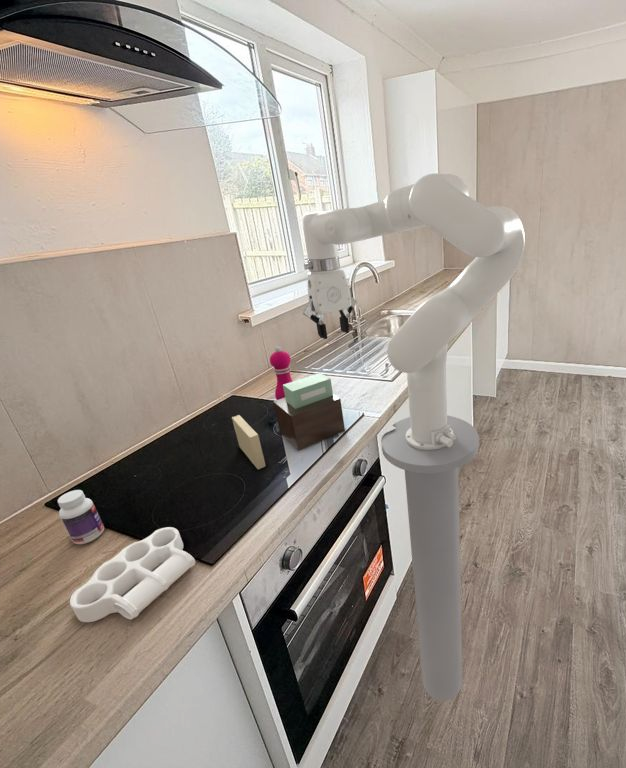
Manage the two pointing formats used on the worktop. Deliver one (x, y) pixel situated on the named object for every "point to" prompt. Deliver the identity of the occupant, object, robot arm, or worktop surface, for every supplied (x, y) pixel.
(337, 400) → the block
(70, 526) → the pill bottle
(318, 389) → the tissue box
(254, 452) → the rail
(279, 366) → the pepper mill
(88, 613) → the knuckle duster
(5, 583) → the worktop surface
